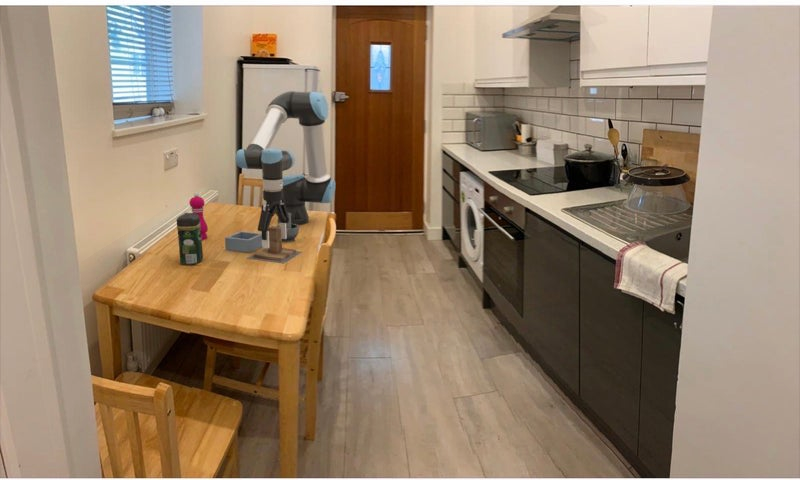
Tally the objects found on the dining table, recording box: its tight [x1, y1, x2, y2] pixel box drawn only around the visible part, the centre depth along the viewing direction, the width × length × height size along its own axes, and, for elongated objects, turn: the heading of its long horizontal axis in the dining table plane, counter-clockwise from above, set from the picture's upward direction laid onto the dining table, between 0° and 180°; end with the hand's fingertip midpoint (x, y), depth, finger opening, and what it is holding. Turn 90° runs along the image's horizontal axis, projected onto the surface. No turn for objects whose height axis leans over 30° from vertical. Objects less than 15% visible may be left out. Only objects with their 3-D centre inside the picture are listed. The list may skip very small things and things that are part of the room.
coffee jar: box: [176, 212, 204, 266], centre depth 204 cm, size 10×8×19 cm
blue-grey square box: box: [224, 230, 263, 254], centre depth 222 cm, size 11×11×6 cm
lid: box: [253, 225, 297, 261], centre depth 213 cm, size 12×12×11 cm
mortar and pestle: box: [276, 213, 300, 243], centre depth 235 cm, size 11×9×12 cm
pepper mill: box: [189, 192, 209, 241], centre depth 234 cm, size 7×7×20 cm
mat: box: [246, 250, 303, 264], centre depth 215 cm, size 16×16×1 cm
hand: (274, 243), depth 213 cm, fingers open, 13 cm apart
